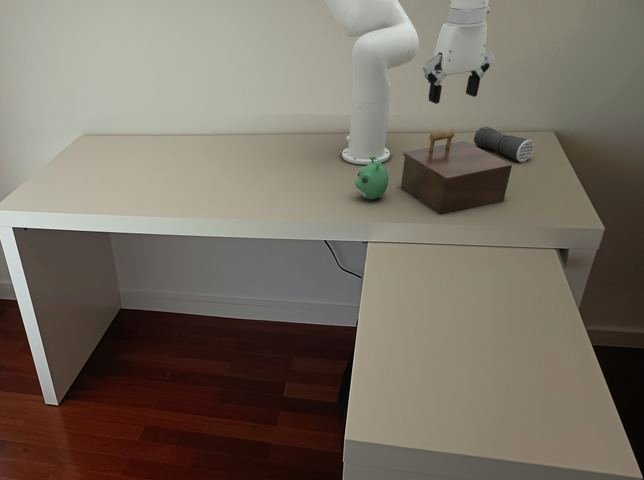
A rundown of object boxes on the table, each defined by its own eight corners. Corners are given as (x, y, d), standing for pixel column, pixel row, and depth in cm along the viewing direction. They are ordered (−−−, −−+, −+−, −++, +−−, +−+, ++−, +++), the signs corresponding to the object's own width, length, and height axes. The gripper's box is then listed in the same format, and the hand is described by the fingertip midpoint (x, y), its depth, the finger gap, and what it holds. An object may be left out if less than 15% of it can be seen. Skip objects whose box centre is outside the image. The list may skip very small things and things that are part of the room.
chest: (400, 187, 160) (404, 156, 155) (459, 175, 162) (465, 145, 158) (440, 214, 147) (445, 181, 142) (503, 200, 149) (511, 168, 145)
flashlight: (470, 147, 176) (473, 127, 173) (485, 142, 178) (489, 122, 175) (515, 163, 165) (520, 143, 162) (531, 159, 167) (536, 138, 163)
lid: (403, 155, 155) (405, 134, 152) (463, 143, 158) (467, 123, 155) (445, 181, 142) (449, 159, 139) (511, 168, 145) (516, 146, 142)
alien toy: (349, 194, 159) (353, 154, 153) (380, 190, 159) (385, 151, 153) (358, 206, 153) (362, 165, 147) (390, 202, 153) (395, 162, 147)
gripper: (490, 7, 141) (475, 88, 152) (420, 18, 138) (409, 100, 149) (513, 12, 136) (496, 96, 146) (441, 24, 132) (428, 109, 143)
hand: (452, 98), depth 147 cm, fingers open, 9 cm apart
